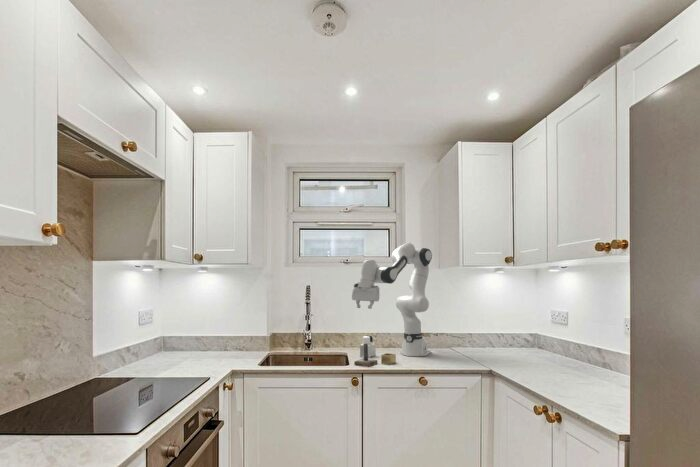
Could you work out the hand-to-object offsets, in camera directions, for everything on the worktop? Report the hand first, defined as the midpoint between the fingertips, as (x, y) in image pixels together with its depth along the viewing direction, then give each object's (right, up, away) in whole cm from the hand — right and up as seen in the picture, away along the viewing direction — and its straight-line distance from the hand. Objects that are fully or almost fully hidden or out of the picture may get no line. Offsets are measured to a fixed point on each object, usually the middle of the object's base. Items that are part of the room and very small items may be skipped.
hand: (364, 308), depth 246 cm
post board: (+1, -33, -1) cm, 33 cm away
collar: (+15, -33, +2) cm, 37 cm away
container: (+3, -36, +24) cm, 43 cm away
